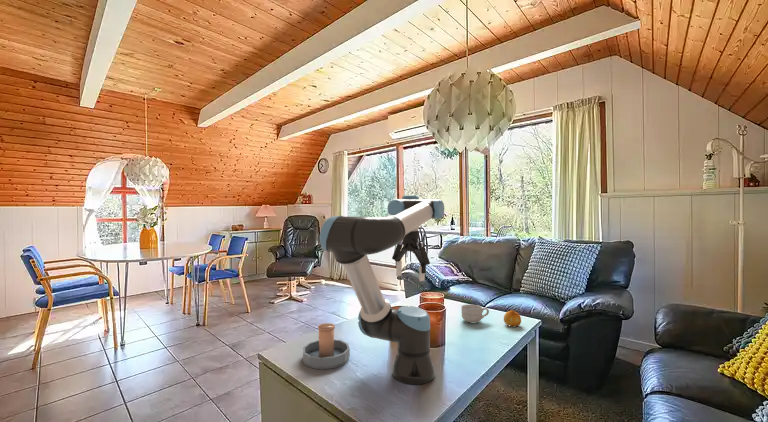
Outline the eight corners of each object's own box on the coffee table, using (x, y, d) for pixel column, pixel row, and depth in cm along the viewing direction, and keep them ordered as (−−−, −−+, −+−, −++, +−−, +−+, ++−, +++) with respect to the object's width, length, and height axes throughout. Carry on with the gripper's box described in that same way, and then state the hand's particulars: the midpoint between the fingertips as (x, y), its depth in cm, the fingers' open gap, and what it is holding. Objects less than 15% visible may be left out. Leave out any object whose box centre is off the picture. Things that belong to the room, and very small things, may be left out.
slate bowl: (358, 359, 137) (358, 348, 137) (319, 374, 125) (319, 362, 125) (331, 345, 150) (331, 335, 150) (294, 358, 138) (294, 347, 138)
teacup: (460, 323, 178) (460, 308, 178) (462, 317, 188) (462, 302, 188) (488, 326, 174) (488, 311, 174) (488, 319, 184) (489, 305, 184)
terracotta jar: (338, 356, 138) (338, 326, 137) (324, 361, 133) (324, 330, 133) (328, 350, 142) (328, 322, 142) (314, 355, 138) (314, 325, 137)
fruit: (515, 325, 169) (518, 309, 172) (499, 323, 174) (502, 307, 178) (522, 330, 174) (524, 315, 177) (506, 328, 179) (508, 312, 183)
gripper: (438, 231, 146) (437, 281, 147) (396, 228, 164) (395, 272, 165) (427, 232, 141) (426, 284, 141) (384, 228, 159) (384, 274, 159)
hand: (410, 278), depth 153 cm, fingers open, 13 cm apart
